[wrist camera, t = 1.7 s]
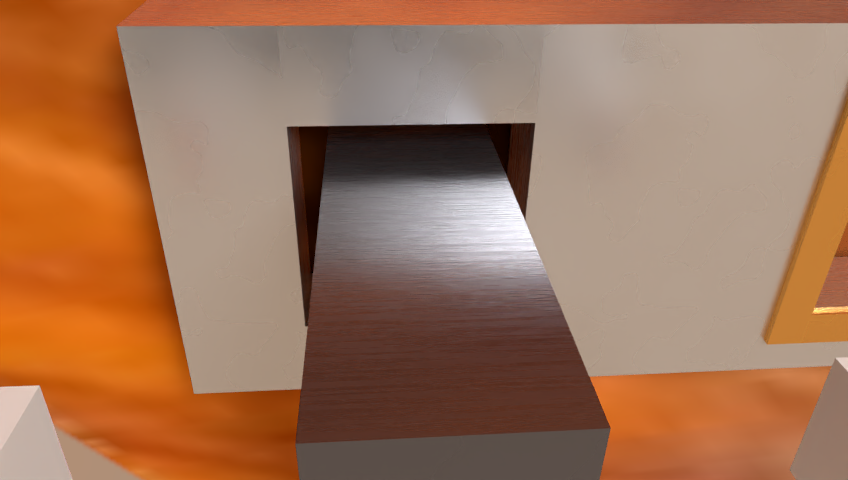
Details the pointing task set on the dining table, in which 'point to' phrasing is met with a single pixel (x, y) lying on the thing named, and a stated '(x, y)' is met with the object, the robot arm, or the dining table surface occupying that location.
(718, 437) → the dining table surface
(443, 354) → the steel peg
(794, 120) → the grey peg hole board
